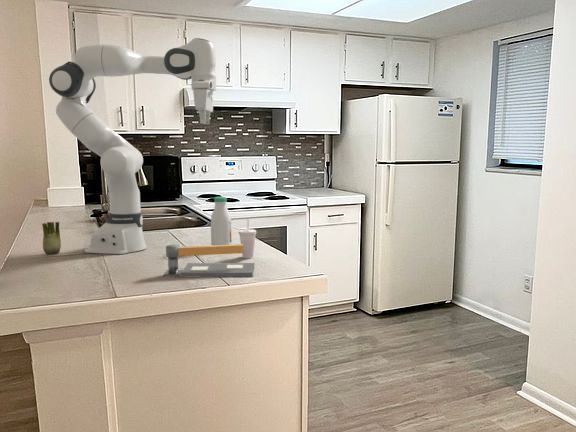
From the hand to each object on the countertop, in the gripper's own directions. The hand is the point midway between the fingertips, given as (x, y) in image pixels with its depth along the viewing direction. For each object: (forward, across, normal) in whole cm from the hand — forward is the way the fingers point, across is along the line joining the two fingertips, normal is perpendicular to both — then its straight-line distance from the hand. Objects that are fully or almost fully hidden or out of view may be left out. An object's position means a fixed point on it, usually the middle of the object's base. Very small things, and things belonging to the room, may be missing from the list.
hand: (205, 124), depth 186 cm
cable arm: (+41, +33, +4) cm, 53 cm away
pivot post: (+47, +35, -6) cm, 59 cm away
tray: (+47, +32, +8) cm, 58 cm away
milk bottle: (+47, -1, +5) cm, 48 cm away
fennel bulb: (+47, +7, -56) cm, 74 cm away
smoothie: (+47, +13, +16) cm, 52 cm away
